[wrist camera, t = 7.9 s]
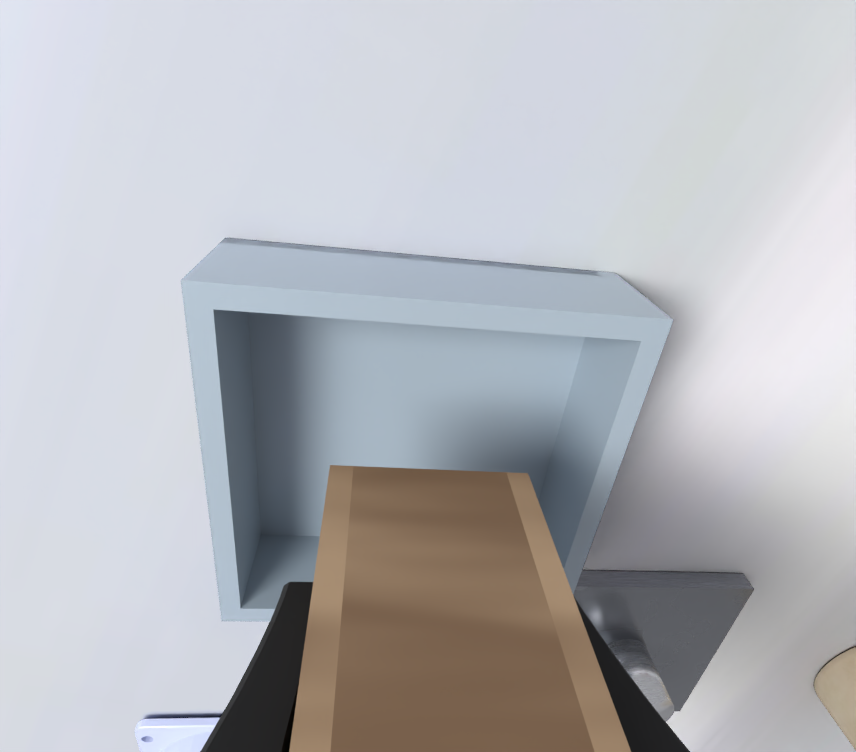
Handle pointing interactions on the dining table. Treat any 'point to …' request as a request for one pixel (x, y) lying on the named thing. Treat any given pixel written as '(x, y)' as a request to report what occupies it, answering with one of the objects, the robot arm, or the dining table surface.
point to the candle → (840, 692)
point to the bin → (402, 390)
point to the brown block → (445, 623)
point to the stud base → (663, 625)
